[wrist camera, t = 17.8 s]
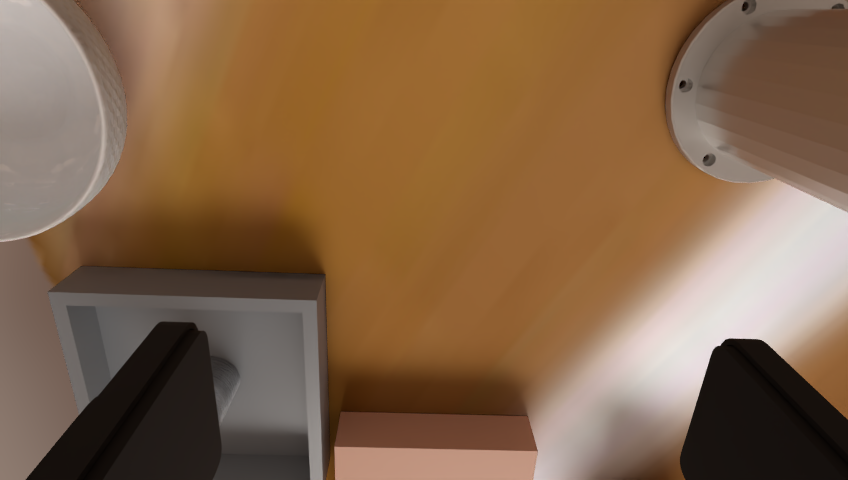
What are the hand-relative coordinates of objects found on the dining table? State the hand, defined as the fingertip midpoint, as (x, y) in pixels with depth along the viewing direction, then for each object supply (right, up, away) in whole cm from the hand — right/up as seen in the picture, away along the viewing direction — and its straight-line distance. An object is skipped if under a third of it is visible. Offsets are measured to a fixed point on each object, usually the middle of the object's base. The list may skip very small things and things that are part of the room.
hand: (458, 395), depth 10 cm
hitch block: (0, -19, +39) cm, 44 cm away
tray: (-17, -8, +34) cm, 39 cm away
